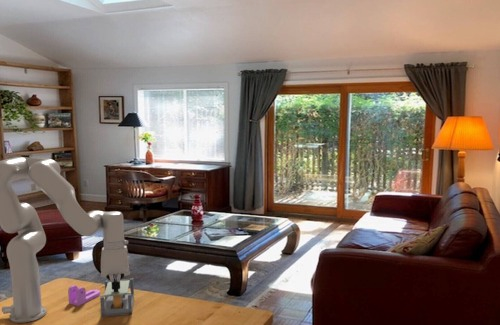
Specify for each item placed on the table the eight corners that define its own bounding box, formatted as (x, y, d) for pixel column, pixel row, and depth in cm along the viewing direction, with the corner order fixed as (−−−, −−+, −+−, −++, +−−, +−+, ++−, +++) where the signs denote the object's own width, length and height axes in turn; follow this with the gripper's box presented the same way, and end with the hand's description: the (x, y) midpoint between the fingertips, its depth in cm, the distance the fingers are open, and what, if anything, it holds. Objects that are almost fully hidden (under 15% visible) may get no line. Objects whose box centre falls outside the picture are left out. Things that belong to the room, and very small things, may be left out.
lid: (100, 297, 166) (100, 295, 166) (104, 283, 180) (104, 280, 180) (131, 294, 168) (130, 292, 168) (133, 280, 183) (133, 278, 183)
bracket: (79, 306, 176) (78, 289, 176) (68, 303, 179) (67, 287, 178) (102, 293, 188) (102, 278, 187) (93, 291, 190) (92, 276, 190)
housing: (101, 317, 167) (100, 295, 166) (105, 300, 181) (104, 280, 180) (131, 313, 169) (131, 292, 168) (134, 297, 184) (133, 278, 182)
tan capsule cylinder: (113, 310, 169) (112, 296, 169) (114, 307, 172) (113, 293, 172) (121, 309, 170) (120, 296, 169) (122, 306, 173) (121, 293, 172)
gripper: (134, 240, 173) (136, 285, 175) (94, 242, 170) (97, 288, 172) (133, 246, 165) (135, 293, 168) (91, 248, 162) (94, 296, 165)
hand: (116, 290), depth 170 cm, fingers closed
